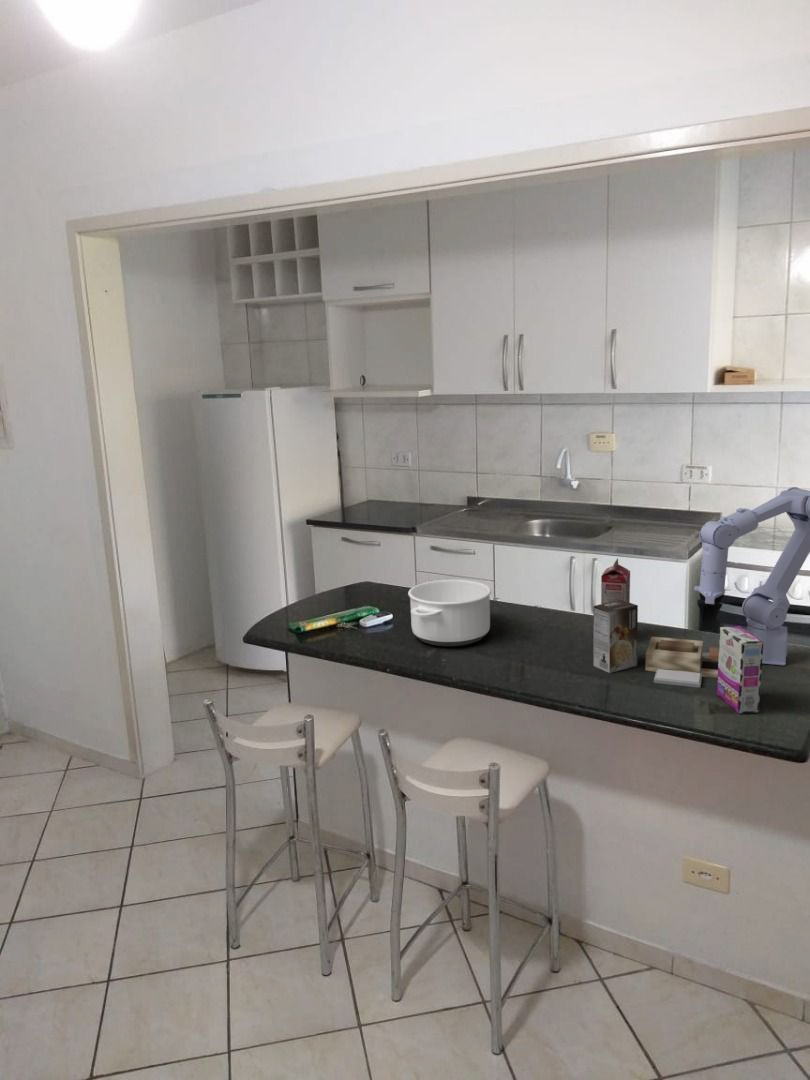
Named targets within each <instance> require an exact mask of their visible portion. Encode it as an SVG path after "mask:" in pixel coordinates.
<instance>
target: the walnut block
mask: <svg viewBox="0 0 810 1080" xmlns="http://www.w3.org/2000/svg"><path fill="white" fill-rule="evenodd" d="M659 650H667V651H678V652H689V653H694V643H692V642H680V641H669V640H661V642H660V645H659Z"/></svg>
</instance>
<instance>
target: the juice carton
mask: <svg viewBox="0 0 810 1080" xmlns="http://www.w3.org/2000/svg"><path fill="white" fill-rule="evenodd" d="M600 581H601V584H600V585H601V586H600V588H601V589H600V590H601V591H600V604H604V603H609V602H613V601H618V600H623V601H626V602H629V603H631V601H630V599H631V597H630V596H631V595H630V594H631V591H630V590H631V570H629V569H628V568H626V567H624V566H622V565H621V564H619V558H618V557H617V558H616V560H615V561H614V563H613V565H612V566H610V567H608V568H606V569H605V570H604V571H603V573H602V575H601V579H600Z"/></svg>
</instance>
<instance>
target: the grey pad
mask: <svg viewBox="0 0 810 1080" xmlns="http://www.w3.org/2000/svg"><path fill="white" fill-rule="evenodd" d="M702 679H703V676H702V674H700V673H694V672H684V671H674V670H664V669H658V670H657V671H656V672H655V674H654V678H653V683H655V684H662V685H672V686H680V687H681V686H682V687H689V688H690V687H692V688H699V689H700V688H701V685H702Z"/></svg>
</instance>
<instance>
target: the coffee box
mask: <svg viewBox="0 0 810 1080" xmlns="http://www.w3.org/2000/svg"><path fill="white" fill-rule="evenodd" d="M638 609H639V605H637V604H635V603H631V602H630V603H629V602H626V601H623V600H618V601H613V602H609V603H604V604H601V603H600V604H596V605H593V667H595V668H597V669H600V670H602V671H604V672H606V673H608V674H612V673H615V672H620V671H624V670H627V669H631V668H634V667H637V666H638V631H639V630H638V629H639V628H638V627H639V626H638V623H639V622H638V621H639V619H638V618H639V617H638V616H639V612H638Z"/></svg>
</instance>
